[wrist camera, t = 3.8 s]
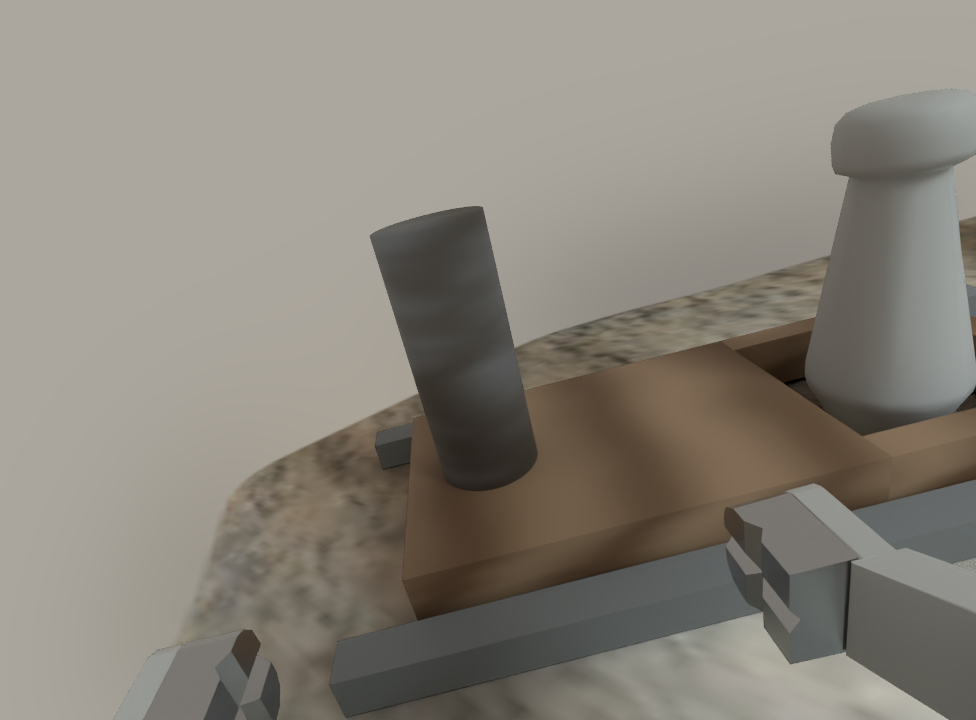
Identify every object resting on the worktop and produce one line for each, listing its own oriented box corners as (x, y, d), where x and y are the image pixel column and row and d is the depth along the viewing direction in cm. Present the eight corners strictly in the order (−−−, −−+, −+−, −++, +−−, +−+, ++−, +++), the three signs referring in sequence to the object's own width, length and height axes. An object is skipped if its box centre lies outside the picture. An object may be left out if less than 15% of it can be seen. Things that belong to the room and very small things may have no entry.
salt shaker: (931, 476, 20) (978, 95, 15) (778, 427, 24) (774, 125, 19) (992, 409, 22) (1050, 64, 17) (843, 376, 27) (855, 98, 22)
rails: (345, 717, 16) (329, 685, 16) (385, 454, 30) (377, 432, 29) (1411, 446, 16) (1434, 404, 16) (962, 309, 30) (965, 284, 30)
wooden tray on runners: (423, 634, 18) (287, 284, 13) (426, 458, 28) (350, 224, 23) (1163, 447, 18) (1298, 32, 13) (900, 339, 28) (922, 82, 23)
